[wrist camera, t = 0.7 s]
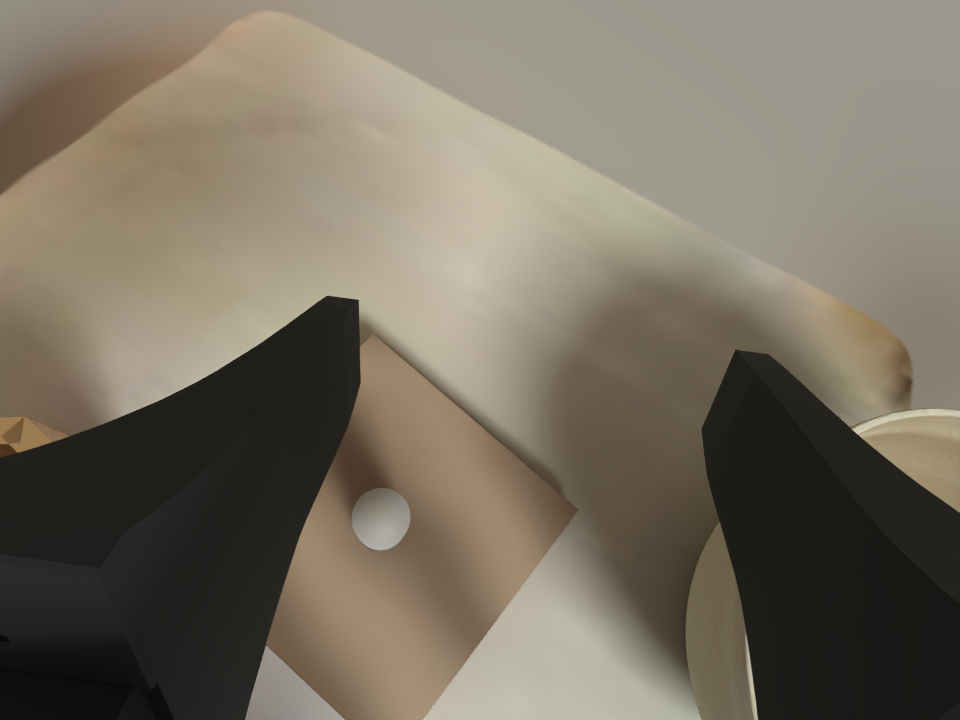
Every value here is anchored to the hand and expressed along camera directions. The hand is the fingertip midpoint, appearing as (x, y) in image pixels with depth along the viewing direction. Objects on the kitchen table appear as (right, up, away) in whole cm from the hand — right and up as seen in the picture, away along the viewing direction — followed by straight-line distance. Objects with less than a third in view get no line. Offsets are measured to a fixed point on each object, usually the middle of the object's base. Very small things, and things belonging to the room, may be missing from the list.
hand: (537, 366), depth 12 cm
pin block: (-5, -7, +15) cm, 17 cm away
